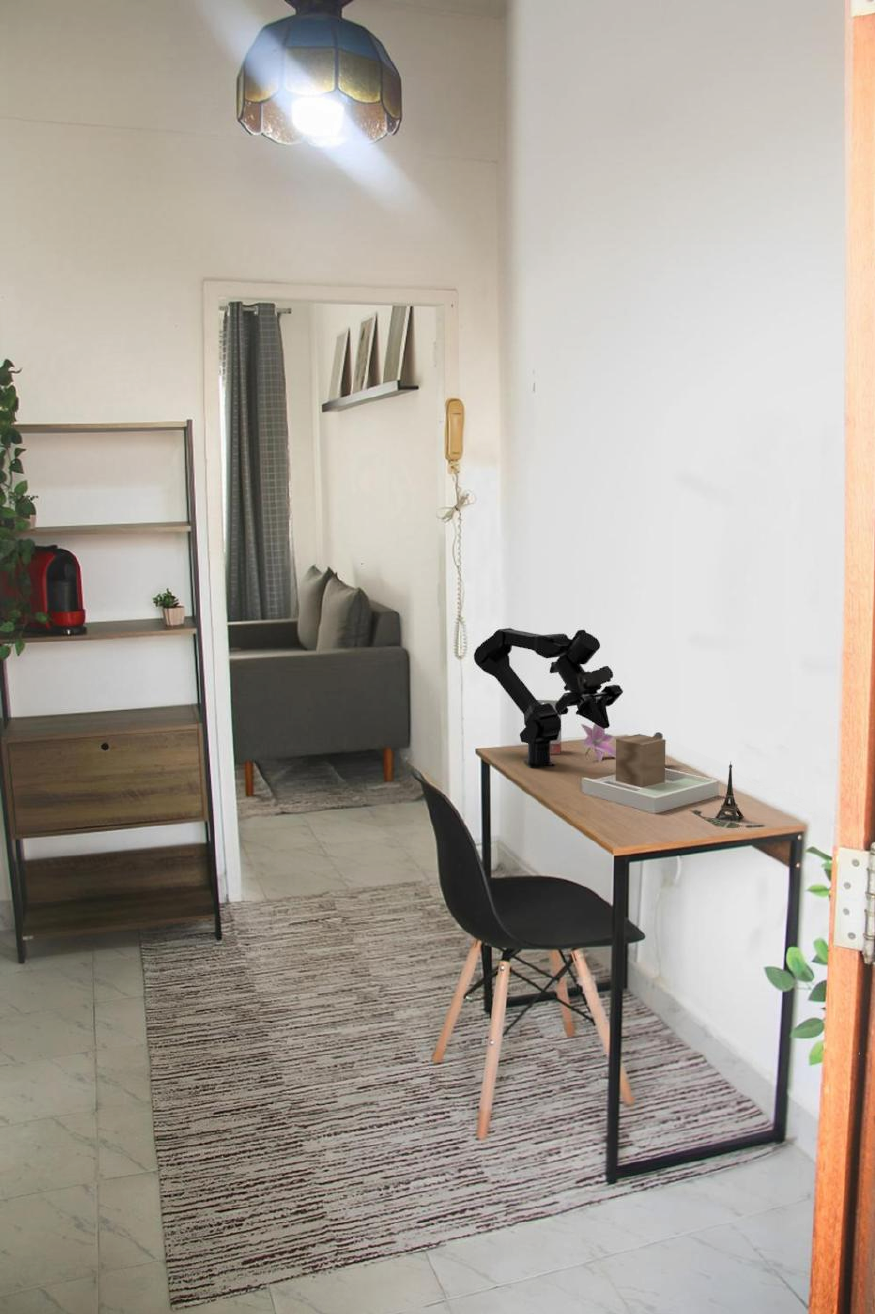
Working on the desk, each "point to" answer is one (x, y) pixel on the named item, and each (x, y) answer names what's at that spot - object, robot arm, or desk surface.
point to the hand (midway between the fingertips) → (606, 727)
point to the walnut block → (640, 760)
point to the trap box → (654, 791)
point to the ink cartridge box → (556, 744)
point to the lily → (598, 741)
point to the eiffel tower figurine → (727, 810)
